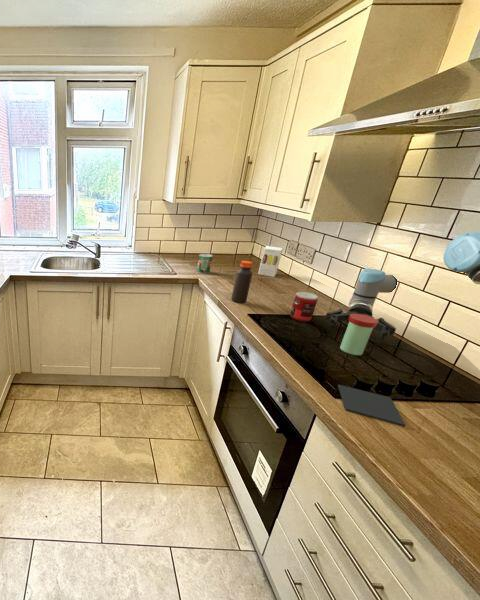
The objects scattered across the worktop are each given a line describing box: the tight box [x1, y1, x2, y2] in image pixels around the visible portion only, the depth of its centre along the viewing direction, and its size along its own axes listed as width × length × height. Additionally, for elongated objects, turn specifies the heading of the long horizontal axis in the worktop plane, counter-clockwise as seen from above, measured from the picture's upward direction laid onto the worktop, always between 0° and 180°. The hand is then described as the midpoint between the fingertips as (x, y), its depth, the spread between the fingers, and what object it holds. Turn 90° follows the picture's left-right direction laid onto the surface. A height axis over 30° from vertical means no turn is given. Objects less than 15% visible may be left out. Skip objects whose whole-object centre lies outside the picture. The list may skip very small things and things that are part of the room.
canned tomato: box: [196, 253, 213, 275], centre depth 200 cm, size 8×8×11 cm
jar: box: [339, 321, 375, 356], centre depth 112 cm, size 7×7×12 cm
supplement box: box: [257, 245, 284, 278], centre depth 195 cm, size 10×9×17 cm
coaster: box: [337, 384, 406, 427], centre depth 87 cm, size 12×12×1 cm
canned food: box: [289, 291, 319, 323], centre depth 137 cm, size 8×8×11 cm
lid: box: [348, 314, 378, 329], centre depth 109 cm, size 8×8×2 cm
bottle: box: [231, 260, 254, 304], centre depth 153 cm, size 7×7×20 cm
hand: (357, 330), depth 114 cm, fingers open, 13 cm apart
